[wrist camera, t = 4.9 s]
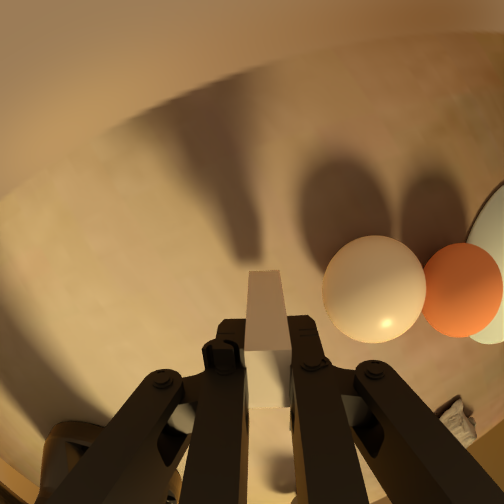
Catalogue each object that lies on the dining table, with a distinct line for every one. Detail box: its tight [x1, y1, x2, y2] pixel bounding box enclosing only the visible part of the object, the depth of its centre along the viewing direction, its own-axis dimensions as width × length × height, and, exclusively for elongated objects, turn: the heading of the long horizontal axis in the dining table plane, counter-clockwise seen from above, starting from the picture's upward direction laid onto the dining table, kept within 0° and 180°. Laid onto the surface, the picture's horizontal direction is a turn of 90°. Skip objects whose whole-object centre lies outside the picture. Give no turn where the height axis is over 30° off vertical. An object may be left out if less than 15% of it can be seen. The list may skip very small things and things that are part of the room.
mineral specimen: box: [440, 399, 477, 449], centre depth 23 cm, size 6×12×4 cm, turn 147°
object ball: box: [422, 243, 503, 337], centre depth 15 cm, size 6×6×6 cm
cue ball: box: [322, 235, 426, 343], centre depth 15 cm, size 6×6×6 cm
